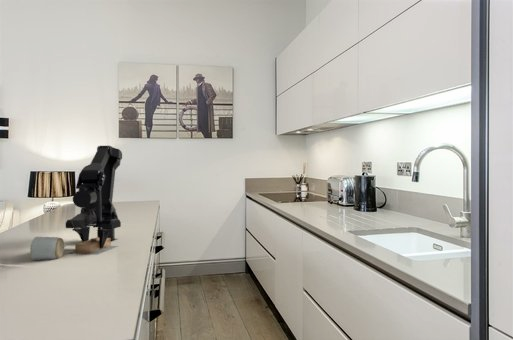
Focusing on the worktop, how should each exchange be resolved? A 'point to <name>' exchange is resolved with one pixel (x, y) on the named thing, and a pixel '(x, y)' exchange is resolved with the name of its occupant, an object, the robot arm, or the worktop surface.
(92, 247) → the lid
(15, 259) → the worktop surface
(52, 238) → the ceramic mug
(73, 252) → the mat
